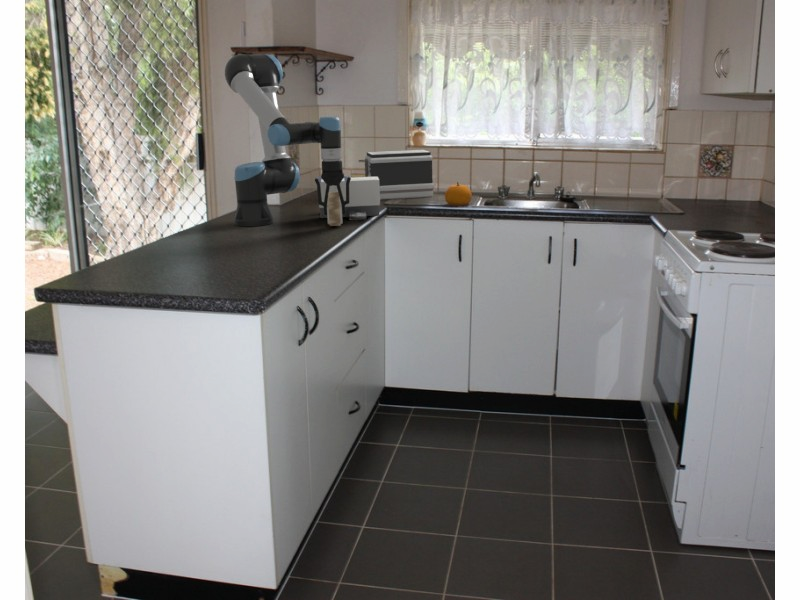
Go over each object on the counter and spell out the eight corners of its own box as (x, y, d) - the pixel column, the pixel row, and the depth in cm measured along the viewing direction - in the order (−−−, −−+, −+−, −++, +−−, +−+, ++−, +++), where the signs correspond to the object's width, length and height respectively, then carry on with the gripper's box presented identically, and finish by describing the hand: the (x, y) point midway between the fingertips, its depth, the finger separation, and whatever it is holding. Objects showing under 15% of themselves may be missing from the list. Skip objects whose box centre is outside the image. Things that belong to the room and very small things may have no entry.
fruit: (468, 206, 322) (468, 183, 319) (441, 206, 326) (441, 183, 323) (474, 203, 333) (474, 180, 330) (448, 202, 336) (448, 180, 334)
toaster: (357, 196, 369) (355, 152, 363) (425, 192, 374) (425, 149, 369) (363, 201, 351) (360, 155, 346) (434, 196, 357) (433, 152, 351)
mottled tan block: (329, 226, 280) (328, 193, 276) (330, 219, 295) (328, 188, 292) (340, 225, 280) (338, 193, 277) (340, 218, 295) (338, 188, 292)
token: (349, 220, 297) (348, 213, 296) (348, 218, 304) (348, 210, 303) (366, 219, 298) (366, 212, 297) (366, 217, 305) (365, 209, 304)
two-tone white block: (320, 221, 296) (317, 182, 292) (320, 217, 307) (318, 178, 303) (380, 219, 298) (379, 179, 294) (378, 214, 309) (377, 176, 305)
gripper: (308, 161, 271) (312, 225, 277) (355, 160, 272) (358, 223, 279) (308, 160, 278) (312, 222, 285) (354, 158, 280) (357, 220, 286)
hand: (335, 223), depth 282 cm, fingers closed on mottled tan block, 4 cm apart
